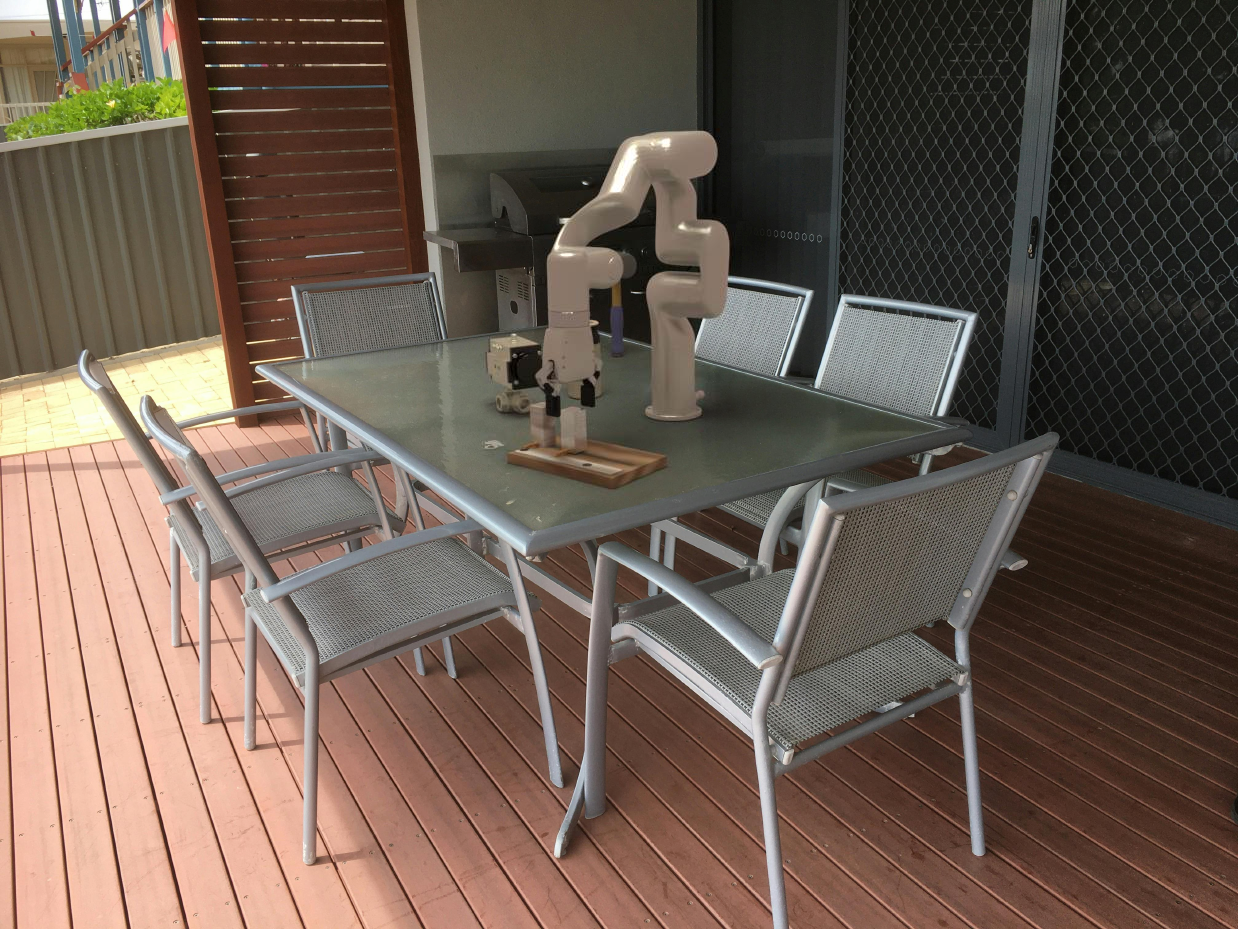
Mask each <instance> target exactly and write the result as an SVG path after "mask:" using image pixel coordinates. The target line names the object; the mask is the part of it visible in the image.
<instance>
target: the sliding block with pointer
mask: <svg viewBox="0 0 1238 929" xmlns="http://www.w3.org/2000/svg"><path fill="white" fill-rule="evenodd" d="M559 419H560V435H561V444H562V451H559V452H557V453H554V454H553V455H554V456H555V457H557V456H559V455H562V454H565V453H568V452H569V453H574V454H576V453H579V452H581V451H584V450H587V439H588V438H587V410H586V408H582V407H578V406H573V405H572V406H568V407H566V408H563V409H562V408H561V416H560V417H559Z"/></svg>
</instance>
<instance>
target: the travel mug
mask: <svg viewBox="0 0 1238 929" xmlns="http://www.w3.org/2000/svg"><path fill="white" fill-rule="evenodd" d="M598 325H599V322H598V321H597V320H593V319H590V326H591V331H592V337H593V344H594V357H596V358H598V359H600V360H602V359H601V335H600V333H599V331H598ZM567 385H568V396H569V397H570V398H573V399H576V400H581V390H580V387H581V385H584V384H583V383H582V382H581V380H580V381H576V382H572V383H568V384H567ZM594 387H595V399H596V398H599V397H600V396H601V395H602V369H601V370H600V376H599V378H598V380H597V386H594Z"/></svg>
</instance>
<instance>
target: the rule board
mask: <svg viewBox="0 0 1238 929" xmlns="http://www.w3.org/2000/svg"><path fill="white" fill-rule="evenodd" d="M529 418H530V419H529V420H530V424H529V425H530V439H531V440H530V441H531V443H528V444H526V445H523V446H522V447H521V448H518V449H515V450H512V451H509V452H507V464H508V463H509V464H512V465H516V466H519V467H524V468H527V469H532V470H536V471H539V472H542V473H543V472H544V473H548V474H551V475H554V476H559V477H563V478H568V479H571V480H574V481H575V480H576V481H579V482H584V483H586V484H590V485H595V486H600V487H602V488H607V489H611V490H615V489H616V488H618V487H619V488H620V487H621V486H624V485H627V484H628V483H631V482H633V481H634V480H635V481H636V480H637V479H640V478H643V477H645V476H647V475H649V474H651V473H654V472H657V471H658V470H661V469H663V468H667V466H668V457H667V455H664V454H659V453H655V452H650V451H646V450H641V449H636V448H632V447H629V446H628V447H627V446H623V445H618V444H613V443H608V442H603V441H599V440H594V439H590V438H587V450H584V451H581V452H579V453H576V454H574V453H569V452H568V453H565V454H562V455H559V456H557V457H555V456H554V455H553V454H554V453H557V452H559V451H562V444H561V434H559V435H557V432H556V431H557V430H556V429H557V428H556V417H553V416H548V415H546V402H542V401H541V402H538V403H533V405H530V411H529Z"/></svg>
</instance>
